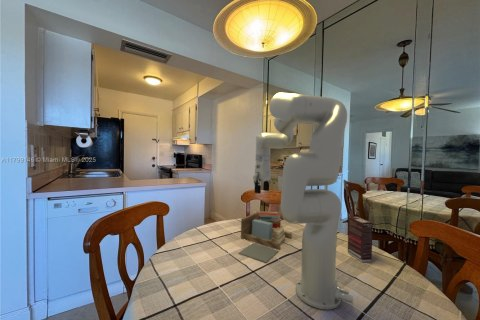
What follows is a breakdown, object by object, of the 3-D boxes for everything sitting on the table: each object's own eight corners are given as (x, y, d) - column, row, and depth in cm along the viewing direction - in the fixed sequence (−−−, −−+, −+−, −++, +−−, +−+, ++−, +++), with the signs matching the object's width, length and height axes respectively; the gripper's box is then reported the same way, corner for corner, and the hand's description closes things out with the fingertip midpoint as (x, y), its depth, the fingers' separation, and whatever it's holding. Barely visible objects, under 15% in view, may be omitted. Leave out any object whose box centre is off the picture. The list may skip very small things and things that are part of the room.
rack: (291, 238, 102) (292, 218, 102) (279, 249, 89) (279, 227, 88) (256, 229, 114) (257, 211, 114) (240, 238, 100) (241, 218, 100)
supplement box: (372, 261, 80) (373, 222, 80) (361, 262, 79) (362, 222, 79) (356, 251, 88) (357, 216, 88) (346, 252, 87) (347, 216, 87)
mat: (278, 251, 87) (278, 250, 87) (266, 263, 77) (266, 262, 77) (252, 243, 94) (253, 243, 94) (238, 253, 84) (238, 252, 84)
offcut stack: (284, 240, 100) (285, 228, 100) (278, 245, 93) (278, 232, 93) (277, 238, 102) (277, 226, 102) (270, 243, 95) (271, 231, 95)
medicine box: (277, 224, 124) (278, 211, 124) (280, 228, 116) (280, 215, 116) (253, 223, 124) (253, 211, 124) (254, 228, 116) (255, 214, 116)
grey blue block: (272, 238, 101) (272, 222, 101) (269, 240, 98) (269, 224, 98) (255, 233, 107) (255, 219, 107) (251, 235, 104) (252, 220, 104)
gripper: (261, 158, 93) (260, 195, 93) (276, 159, 107) (275, 190, 107) (247, 158, 97) (247, 193, 97) (263, 158, 111) (263, 189, 112)
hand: (262, 191), depth 102 cm, fingers open, 9 cm apart
